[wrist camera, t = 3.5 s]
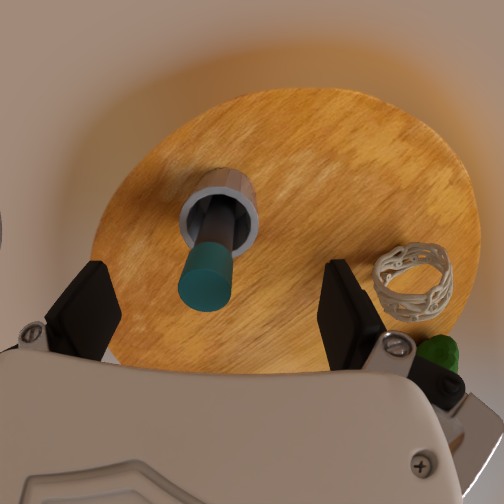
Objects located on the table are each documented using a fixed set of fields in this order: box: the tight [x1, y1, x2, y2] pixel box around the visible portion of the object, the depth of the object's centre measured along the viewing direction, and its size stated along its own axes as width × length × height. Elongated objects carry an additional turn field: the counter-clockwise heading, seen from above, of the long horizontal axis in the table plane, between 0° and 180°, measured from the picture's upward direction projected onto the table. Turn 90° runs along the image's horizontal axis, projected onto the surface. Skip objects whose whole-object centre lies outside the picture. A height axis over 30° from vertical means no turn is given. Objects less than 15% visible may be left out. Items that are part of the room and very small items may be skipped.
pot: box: [179, 168, 259, 258], centre depth 20 cm, size 5×5×6 cm
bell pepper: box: [415, 334, 459, 374], centre depth 30 cm, size 8×8×10 cm
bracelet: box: [371, 242, 454, 323], centre depth 22 cm, size 4×8×8 cm, turn 119°
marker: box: [178, 194, 237, 312], centre depth 16 cm, size 2×2×12 cm
